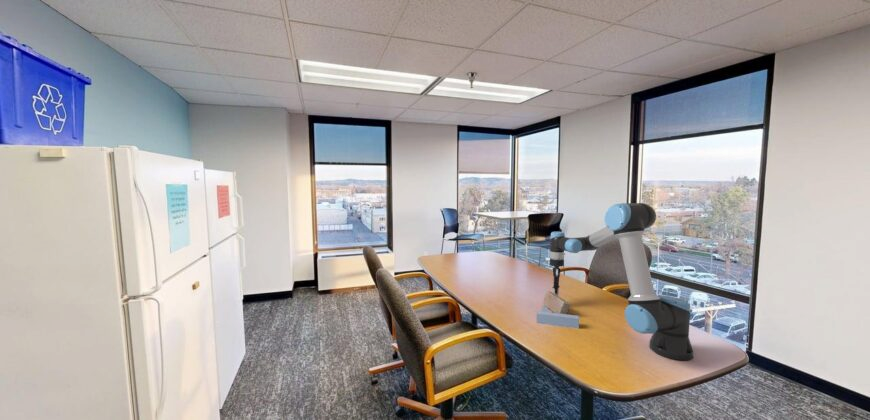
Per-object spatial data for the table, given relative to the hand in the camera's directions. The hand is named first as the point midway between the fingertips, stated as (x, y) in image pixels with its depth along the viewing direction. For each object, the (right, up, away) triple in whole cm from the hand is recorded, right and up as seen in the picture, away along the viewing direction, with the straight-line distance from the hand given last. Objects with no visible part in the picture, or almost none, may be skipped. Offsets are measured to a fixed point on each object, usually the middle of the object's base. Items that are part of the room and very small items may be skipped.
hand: (555, 298), depth 188 cm
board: (-7, -7, -19) cm, 21 cm away
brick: (-3, -6, -7) cm, 9 cm away
